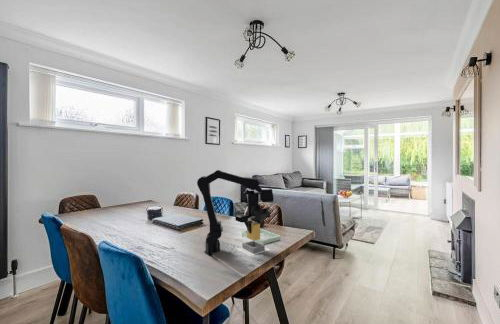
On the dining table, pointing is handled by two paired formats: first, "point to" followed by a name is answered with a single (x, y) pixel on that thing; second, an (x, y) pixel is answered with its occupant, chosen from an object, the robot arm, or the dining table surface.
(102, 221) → the dining table surface
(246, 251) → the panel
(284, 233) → the dining table surface
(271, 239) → the parts tray
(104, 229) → the dining table surface
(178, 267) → the dining table surface
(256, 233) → the tan rectangular block
